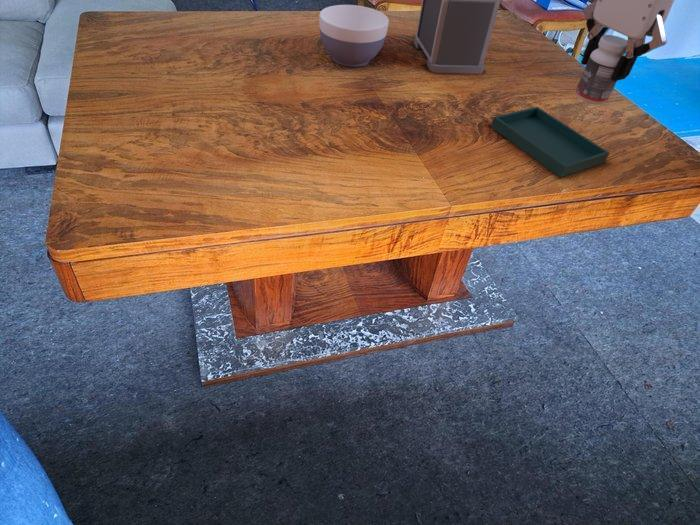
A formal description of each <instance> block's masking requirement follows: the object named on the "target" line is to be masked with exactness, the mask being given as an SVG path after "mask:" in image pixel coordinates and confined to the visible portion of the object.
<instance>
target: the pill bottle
mask: <svg viewBox="0 0 700 525" xmlns="http://www.w3.org/2000/svg"><path fill="white" fill-rule="evenodd" d="M627 40H628V39H626V38H623V37H621V36H618V35H612V34H605V35H604V36H602V37H601V39H600V41H599V43H598V45H599V48H598V49H596V50H594V51H593V52H592V53H591V55H590V57H589V59H588V62H587V64H586V65H585V67H584V69H583V72H582V73H581V77H580V78H579V81H578V83H577V86H576V89H575V92H574V94H575V96H576V97H577V98H578V99H579V100H581V101H583V102H585V103H589V104H593V105H602V104H605V103H607V102H608V101H609V99H610V98H611V95H612V93H613V91H614V89H615V86H616V84H617V82H618V81H613V80H611V77H612V75H613V72H614V70H615V68H616V66H617V64H618V61H619V59H620V57H621V56H625V54H626V47H627Z"/></svg>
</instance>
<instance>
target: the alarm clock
mask: <svg viewBox="0 0 700 525" xmlns="http://www.w3.org/2000/svg"><path fill="white" fill-rule="evenodd" d="M501 1H502V0H421V5H420V10H419V11H420V12H419V17H418V21H417V28H416V34H415V36H414V41H413V44H414V46H415V48H416V49H417V50H422V51H423V53H424V54H425V56H426V58H427V61H426V66H427V68H428V69H429V71H430V72H432V73H435V74H470V75H471V74H476V75H479V74H483V71H484V68H485V64H484V63H485V59H486V57H487V53H488V49H489V46H490V41H491V37H492V34H493V31H494V27H495V23H496V20H497V16H498V12H499V8H500V6H501Z"/></svg>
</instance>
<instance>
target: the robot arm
mask: <svg viewBox="0 0 700 525" xmlns="http://www.w3.org/2000/svg"><path fill="white" fill-rule="evenodd" d="M674 2H675V0H594V1H593V2H591V3H589V4H588V5H587V6H585V7H584V8H583V15H584V18H585V21H586V23H585V25H586V29H587V32H588V33H587V36H586V37H587V39H588V42H587V44H586V47H585V49H584V52H583V54H582V58H581V62H580V64H581V65H582V66H586V64H587V62H588V59H589V57H590V55H591V53H592V52H593V51H594V50H596V49H598V48H599V45H598V43H599V41H600V39H601V37H602V36H604V35H607V33H608V31H609V30H612V31H614V32H616V33H619V34H620V35H623V36H625V37H627V39H626V40H627V47H626V53H625V54H624V56H621V57H620V59H619V61H618V64H617V66H616V68H615V70H614V72H613V75H612V77H611V80H613V81H617V82H618V81H623V80H625V79H627V77H629V75H630V73H631V72H632V69H633V67H634V65H635V64H636V62H637V60H638V57H642V56H643V55H646V54H647V53H649V52H652V51H654V50H656V49H659V48H661V47H664V46H665V45H667V42H668V41H667V40H668V39H667V36H666V30H665V27H664V25H665V23H666V21H667V18H668V16H669V14H670V11H671V10H672V7H673V4H674ZM647 37H651V40H650V41H648V42H646V38H647Z"/></svg>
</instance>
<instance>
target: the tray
mask: <svg viewBox="0 0 700 525" xmlns="http://www.w3.org/2000/svg"><path fill="white" fill-rule="evenodd" d="M490 128H492V129H493V130H494V131H496V132H497V133H498V134H499V135H501V136H502V137H504V138H505V139H507V140H508V141H509V142H511V143H512V144H513V145H515V146H516V147H518V148H519V149H521V150H522V151H523V152H524V153H526V154H528V155H529V156H530V157H532V158H533V159H534V160H535V161H537V162H538V163H540V164H541V165H543V166H544V167H545V168H547V169H548V170H550V172H552V173H554V174H555V175H556V176H558V177H559V178H564V177H566V176H569V175H573V174H575V173H579V172H582V171H584V170H585V171H586V170H587V169H590V168H594V167H596V166H599V165H602V164H605V163H606V161H607V159H608V157H609V155H610V152H609V151H607V150H606V149H605V148H603V147H601V146H600V145H598V144H597V143H595V142H593V141H592V140H591V139H589V138H587V137H586V136H584V135H582V134H581V133H580V132H578V131H576V130H575V129H573V128H571V127H570V126H569V125H567V124H565V123H564V122H562V121H561V120H559V119H557V118H556V117H555V116H553V115H551V114H549V113H548V112H546V111H545V110H543V109H542V108H541V107H539V106H534V107H529V108H525V109H521V110H516V111H513V112H509V113H508V112H507V113H505V114H504V113H503V114H500V115H496V116H493V118H492V122H491V125H490Z"/></svg>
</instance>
